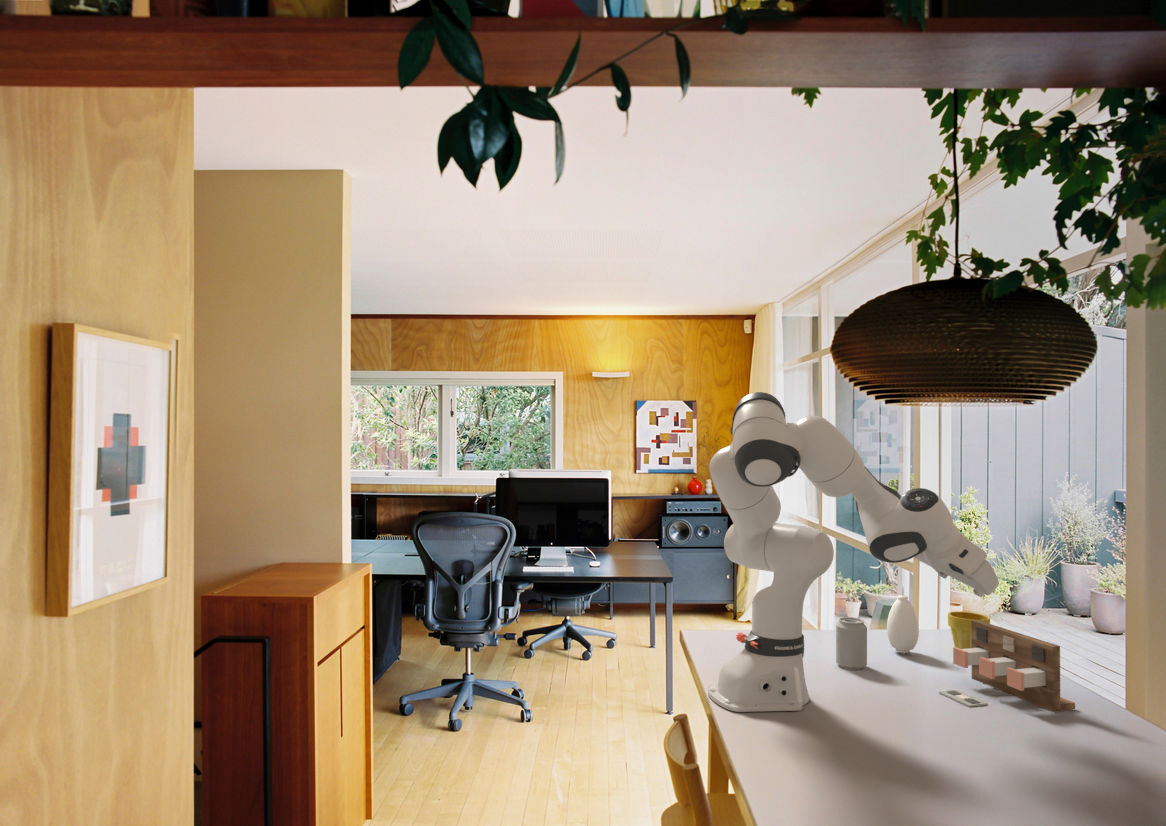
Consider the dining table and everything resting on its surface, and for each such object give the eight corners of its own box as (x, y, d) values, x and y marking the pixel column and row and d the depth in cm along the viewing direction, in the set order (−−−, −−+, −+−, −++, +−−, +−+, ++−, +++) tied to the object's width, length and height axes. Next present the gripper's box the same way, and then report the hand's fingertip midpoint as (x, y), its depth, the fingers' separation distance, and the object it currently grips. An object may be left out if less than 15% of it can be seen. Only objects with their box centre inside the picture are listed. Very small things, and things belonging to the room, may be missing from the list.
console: (1051, 712, 164) (1051, 646, 164) (970, 678, 186) (970, 620, 186) (1075, 709, 165) (1074, 644, 166) (991, 676, 187) (991, 619, 188)
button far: (965, 668, 179) (965, 651, 179) (953, 663, 183) (953, 647, 183) (995, 665, 181) (995, 649, 181) (983, 660, 185) (983, 644, 185)
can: (862, 662, 198) (862, 616, 198) (870, 671, 191) (870, 623, 191) (833, 661, 199) (833, 615, 199) (839, 670, 191) (839, 622, 192)
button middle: (991, 679, 171) (991, 662, 171) (978, 673, 175) (978, 657, 175) (1023, 675, 174) (1023, 659, 174) (1010, 670, 177) (1010, 654, 177)
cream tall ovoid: (881, 649, 210) (881, 584, 210) (905, 647, 212) (905, 582, 212) (899, 657, 202) (899, 589, 203) (924, 656, 204) (924, 588, 205)
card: (968, 707, 166) (968, 704, 166) (939, 693, 175) (939, 690, 175) (987, 705, 168) (987, 702, 168) (957, 691, 176) (957, 689, 176)
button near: (1021, 690, 164) (1021, 673, 164) (1007, 685, 167) (1006, 667, 167) (1053, 687, 166) (1053, 669, 166) (1039, 681, 170) (1039, 664, 170)
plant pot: (984, 647, 213) (983, 612, 213) (995, 657, 203) (994, 621, 203) (944, 644, 215) (943, 609, 216) (953, 655, 205) (952, 618, 206)
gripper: (895, 537, 175) (916, 574, 181) (973, 575, 157) (992, 615, 163) (913, 518, 176) (933, 556, 182) (992, 554, 158) (1011, 594, 164)
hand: (962, 584), depth 172 cm, fingers open, 8 cm apart
